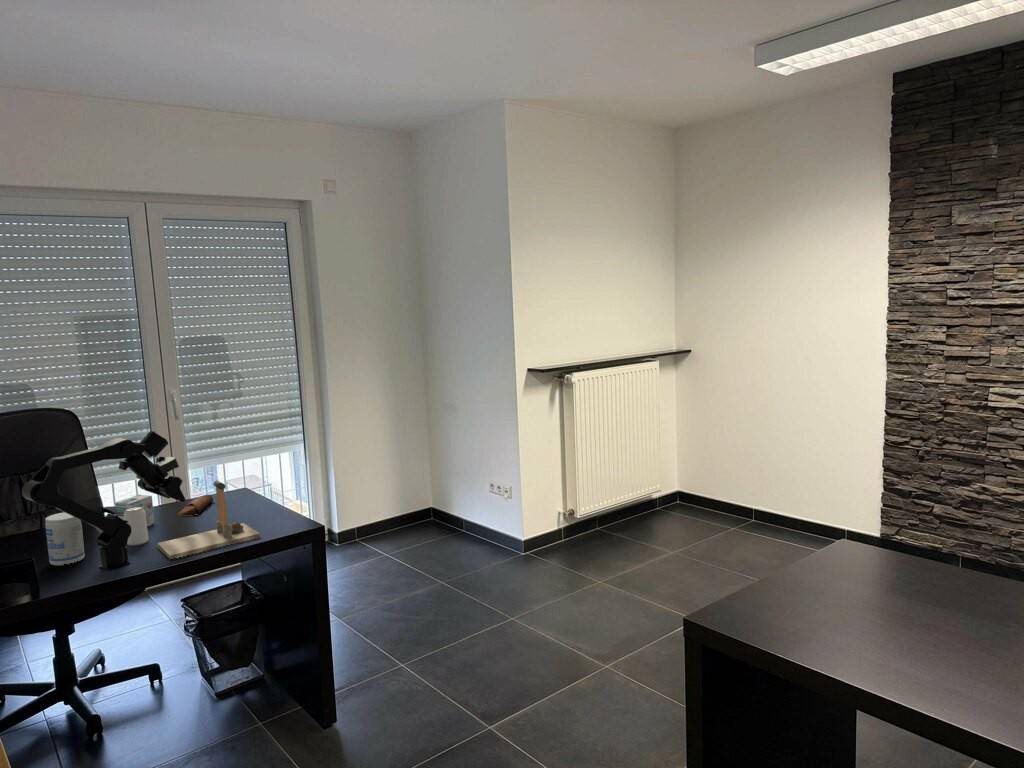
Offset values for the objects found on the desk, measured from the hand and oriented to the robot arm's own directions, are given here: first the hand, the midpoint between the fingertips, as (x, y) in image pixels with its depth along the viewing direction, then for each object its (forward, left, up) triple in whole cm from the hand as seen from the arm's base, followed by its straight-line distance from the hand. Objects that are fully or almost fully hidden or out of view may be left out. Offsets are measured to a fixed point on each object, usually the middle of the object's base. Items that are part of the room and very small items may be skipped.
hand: (177, 499), depth 234 cm
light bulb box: (+5, +33, -16) cm, 37 cm away
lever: (+10, -9, -10) cm, 17 cm away
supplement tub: (-25, +21, -16) cm, 37 cm away
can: (-5, +16, -16) cm, 23 cm away
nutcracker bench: (+5, -7, -15) cm, 18 cm away
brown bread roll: (+28, +33, -16) cm, 46 cm away
